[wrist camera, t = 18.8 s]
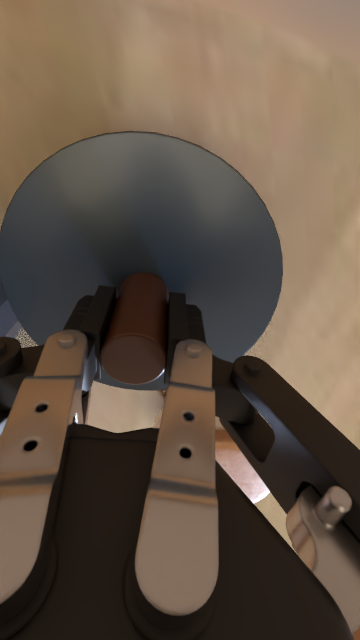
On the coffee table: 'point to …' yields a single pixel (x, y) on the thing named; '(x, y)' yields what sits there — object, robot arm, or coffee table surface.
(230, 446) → the trinket box
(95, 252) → the lid
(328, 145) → the coffee table surface
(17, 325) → the canister
